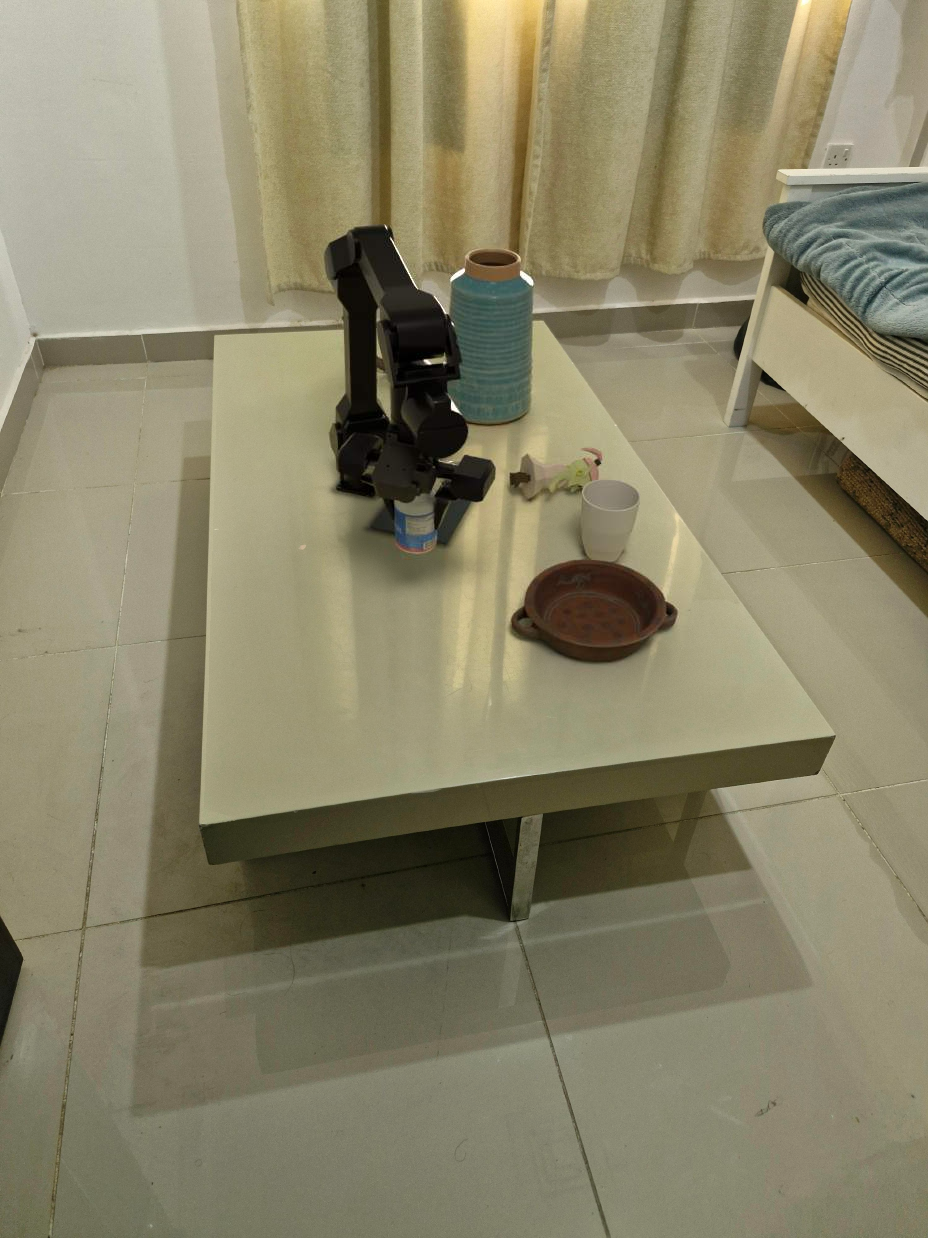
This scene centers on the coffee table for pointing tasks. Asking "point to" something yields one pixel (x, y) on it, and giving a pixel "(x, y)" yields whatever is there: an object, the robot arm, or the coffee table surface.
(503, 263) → the vase
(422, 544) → the pill bottle
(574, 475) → the figurine
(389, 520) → the mat
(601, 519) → the cup
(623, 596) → the dish
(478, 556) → the coffee table surface
